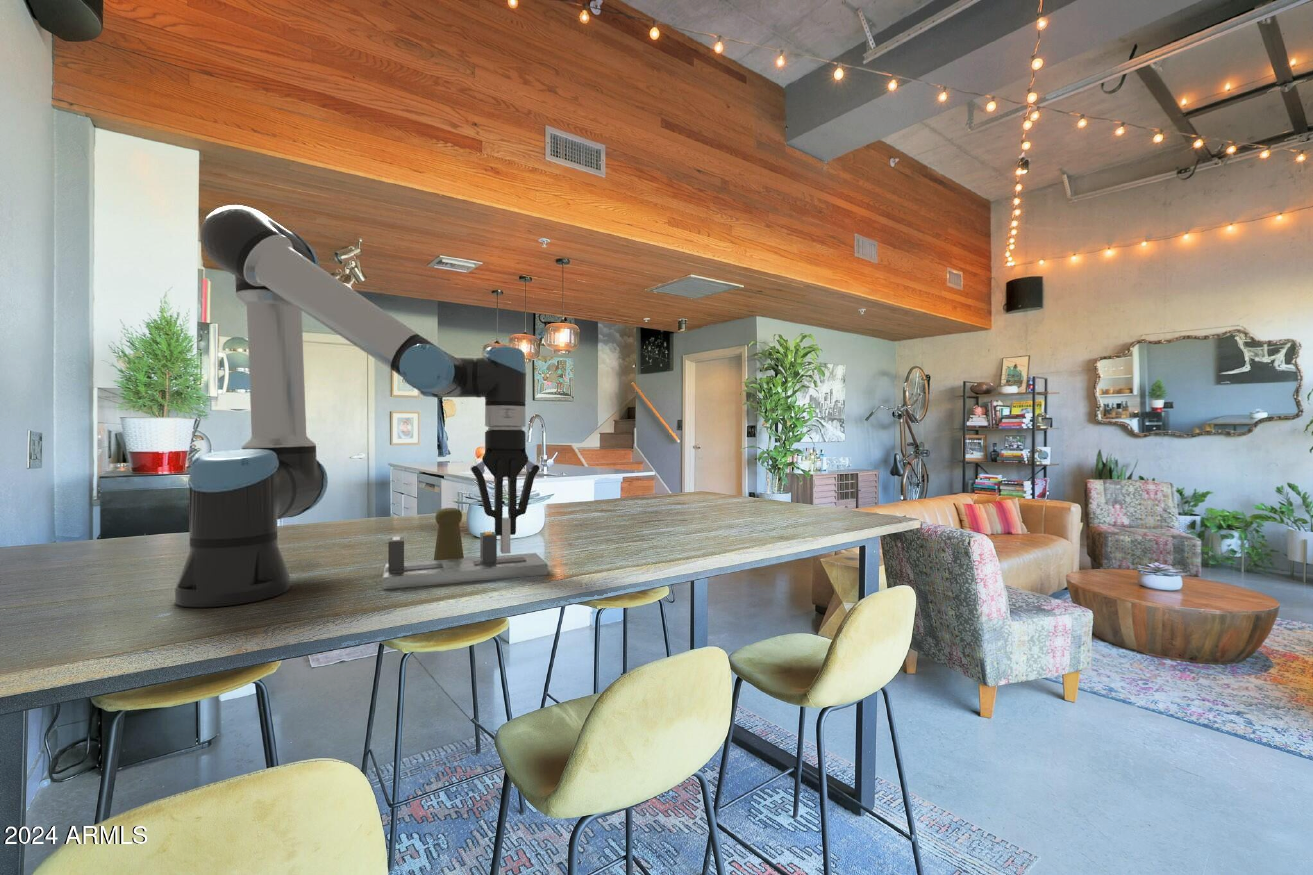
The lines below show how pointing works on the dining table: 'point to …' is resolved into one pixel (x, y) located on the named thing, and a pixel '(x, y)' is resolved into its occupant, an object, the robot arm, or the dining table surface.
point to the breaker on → (396, 553)
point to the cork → (448, 535)
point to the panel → (463, 570)
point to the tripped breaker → (488, 547)
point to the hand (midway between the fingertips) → (505, 552)
